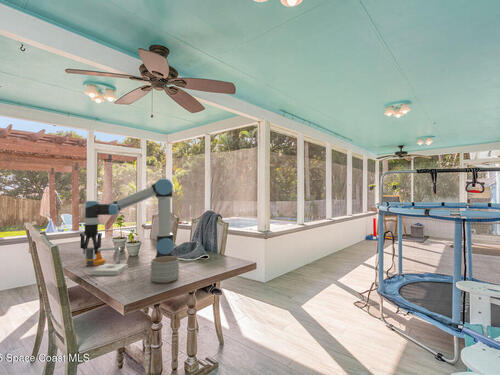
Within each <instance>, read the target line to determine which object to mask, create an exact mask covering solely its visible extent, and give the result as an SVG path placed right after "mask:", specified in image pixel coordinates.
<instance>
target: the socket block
mask: <svg viewBox="0 0 500 375" xmlns="http://www.w3.org/2000/svg"><path fill="white" fill-rule="evenodd" d="M127 269H129V263H120V264H116V263H103V264H101V265H99V266H98V267H96V268H93V269H92V271H91V272H92V276H118V275H120V274H121V273H123V272H124V271H126V270H127Z"/></svg>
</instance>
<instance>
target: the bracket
mask: <svg viewBox="0 0 500 375" xmlns="http://www.w3.org/2000/svg"><path fill="white" fill-rule="evenodd" d="M101 252H102V251H98V253H97V254H96V259H95V260H94V267H96V266H101V265H103V264H106V259H104V258H103V257H102V255H101ZM85 264H86V265H87V261H85ZM100 264H101V265H100ZM95 265H96V266H95Z"/></svg>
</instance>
